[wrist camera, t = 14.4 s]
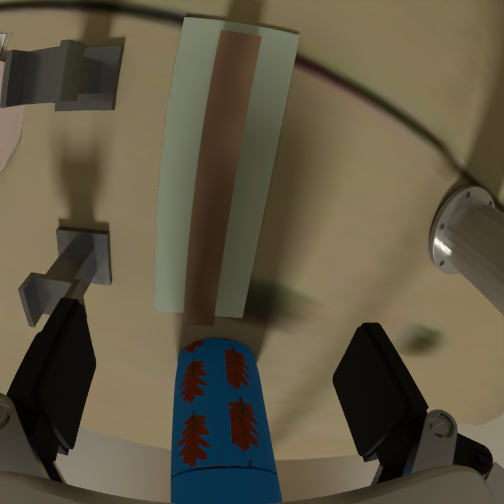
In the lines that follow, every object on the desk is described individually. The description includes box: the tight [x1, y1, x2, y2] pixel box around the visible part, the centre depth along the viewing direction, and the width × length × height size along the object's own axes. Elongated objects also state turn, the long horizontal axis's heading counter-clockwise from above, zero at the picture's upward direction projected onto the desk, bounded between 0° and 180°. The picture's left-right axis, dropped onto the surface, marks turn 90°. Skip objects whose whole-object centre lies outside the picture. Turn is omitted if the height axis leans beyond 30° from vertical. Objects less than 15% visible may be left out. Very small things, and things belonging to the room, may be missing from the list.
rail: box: [183, 30, 262, 326], centre depth 25 cm, size 3×26×4 cm, turn 170°
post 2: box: [18, 227, 112, 327], centre depth 24 cm, size 6×6×10 cm
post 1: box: [0, 40, 124, 111], centre depth 16 cm, size 6×6×10 cm
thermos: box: [171, 338, 282, 504], centre depth 28 cm, size 11×11×25 cm
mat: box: [155, 17, 300, 318], centre depth 27 cm, size 10×30×1 cm, turn 170°
